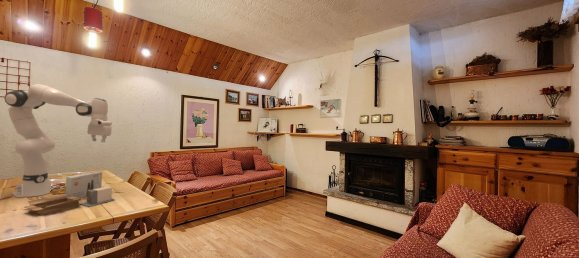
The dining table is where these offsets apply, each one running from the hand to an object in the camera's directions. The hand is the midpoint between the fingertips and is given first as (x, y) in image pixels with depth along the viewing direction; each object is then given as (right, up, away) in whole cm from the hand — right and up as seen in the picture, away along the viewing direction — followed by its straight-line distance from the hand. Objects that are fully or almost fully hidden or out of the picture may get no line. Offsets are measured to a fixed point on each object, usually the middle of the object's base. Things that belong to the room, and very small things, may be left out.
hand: (98, 141), depth 171 cm
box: (+8, -39, -9) cm, 40 cm away
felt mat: (+8, -39, -10) cm, 41 cm away
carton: (-7, -39, -24) cm, 46 cm away
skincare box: (-10, -39, 0) cm, 40 cm away
